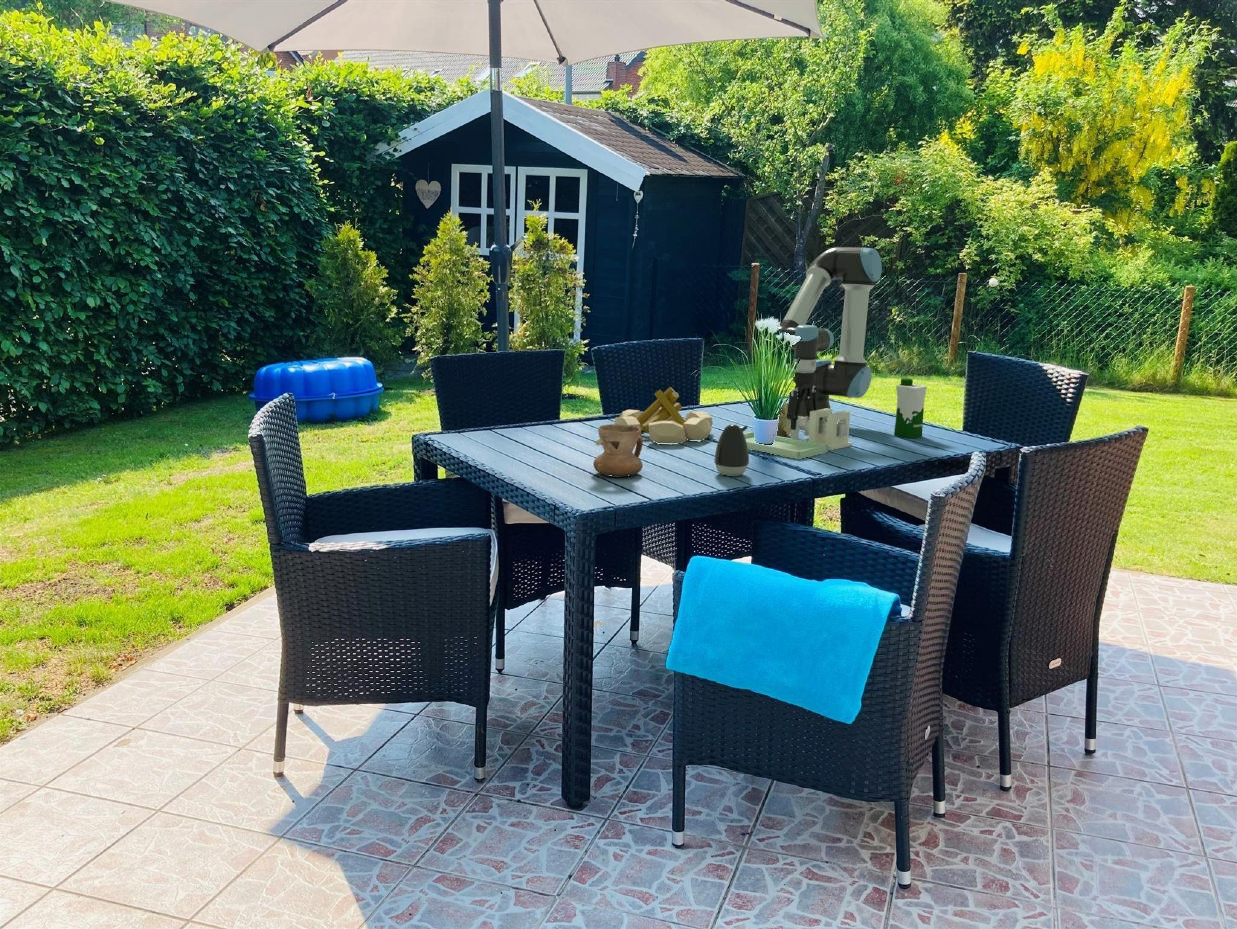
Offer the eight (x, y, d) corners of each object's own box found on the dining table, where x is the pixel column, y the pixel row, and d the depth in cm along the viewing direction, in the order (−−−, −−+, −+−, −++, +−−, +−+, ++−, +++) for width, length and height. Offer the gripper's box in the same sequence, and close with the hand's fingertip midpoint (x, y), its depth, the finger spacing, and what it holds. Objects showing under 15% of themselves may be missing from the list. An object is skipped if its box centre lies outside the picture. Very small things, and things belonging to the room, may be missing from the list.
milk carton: (904, 432, 388) (908, 377, 383) (926, 436, 381) (930, 380, 377) (890, 435, 382) (893, 379, 378) (911, 439, 375) (916, 382, 371)
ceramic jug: (611, 483, 308) (613, 434, 305) (579, 473, 319) (581, 426, 316) (657, 475, 320) (660, 428, 317) (625, 466, 330) (627, 420, 327)
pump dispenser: (756, 476, 319) (758, 425, 315) (728, 480, 313) (730, 428, 310) (734, 469, 327) (736, 420, 324) (707, 473, 322) (708, 423, 318)
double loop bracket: (804, 445, 364) (805, 411, 361) (824, 440, 372) (826, 407, 369) (831, 450, 356) (833, 416, 353) (851, 445, 364) (854, 411, 362)
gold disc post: (764, 438, 375) (766, 403, 372) (785, 433, 383) (787, 400, 381) (833, 450, 356) (835, 414, 353) (853, 445, 364) (855, 410, 361)
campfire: (727, 433, 384) (729, 385, 380) (688, 450, 355) (690, 399, 351) (640, 423, 400) (640, 378, 396) (595, 439, 371) (596, 390, 367)
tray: (752, 438, 374) (752, 431, 373) (827, 452, 353) (827, 445, 352) (722, 444, 363) (722, 437, 362) (798, 459, 341) (799, 451, 341)
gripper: (796, 375, 357) (792, 442, 362) (831, 369, 371) (827, 434, 376) (777, 372, 362) (774, 439, 367) (812, 367, 376) (809, 431, 381)
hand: (801, 437), depth 371 cm, fingers open, 8 cm apart
